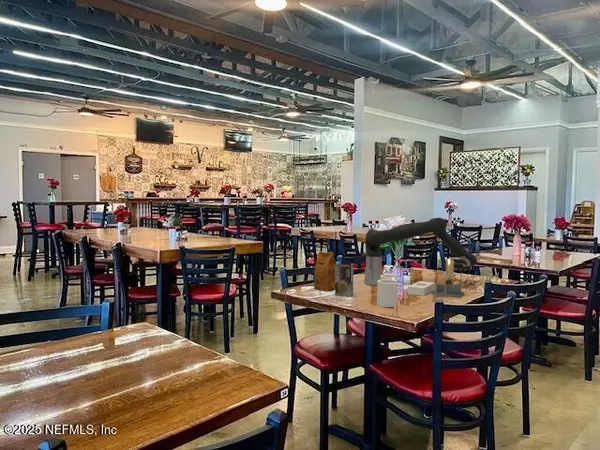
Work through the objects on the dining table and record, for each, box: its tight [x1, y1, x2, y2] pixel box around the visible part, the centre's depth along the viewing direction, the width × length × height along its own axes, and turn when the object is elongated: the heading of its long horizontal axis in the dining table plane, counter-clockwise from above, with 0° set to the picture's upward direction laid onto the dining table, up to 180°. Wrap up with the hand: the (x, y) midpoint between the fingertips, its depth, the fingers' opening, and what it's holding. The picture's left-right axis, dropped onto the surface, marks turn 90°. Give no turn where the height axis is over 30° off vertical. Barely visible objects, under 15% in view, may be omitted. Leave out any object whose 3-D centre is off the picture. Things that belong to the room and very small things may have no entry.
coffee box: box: [334, 264, 354, 297], centre depth 248 cm, size 9×6×16 cm
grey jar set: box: [376, 274, 398, 308], centre depth 232 cm, size 25×10×12 cm, turn 167°
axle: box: [444, 258, 455, 285], centre depth 254 cm, size 4×4×18 cm
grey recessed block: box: [407, 280, 436, 296], centre depth 259 cm, size 20×9×4 cm, turn 147°
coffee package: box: [313, 250, 338, 292], centre depth 262 cm, size 10×12×22 cm
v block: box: [431, 281, 465, 299], centre depth 252 cm, size 10×15×6 cm, turn 57°
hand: (454, 268), depth 262 cm, fingers open, 8 cm apart
